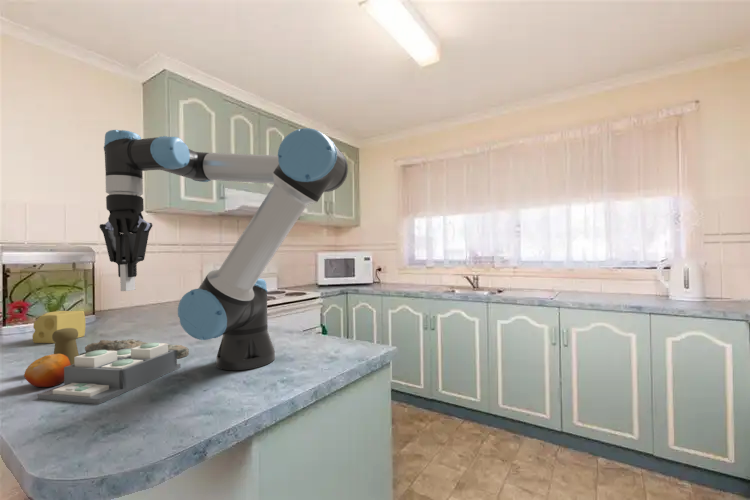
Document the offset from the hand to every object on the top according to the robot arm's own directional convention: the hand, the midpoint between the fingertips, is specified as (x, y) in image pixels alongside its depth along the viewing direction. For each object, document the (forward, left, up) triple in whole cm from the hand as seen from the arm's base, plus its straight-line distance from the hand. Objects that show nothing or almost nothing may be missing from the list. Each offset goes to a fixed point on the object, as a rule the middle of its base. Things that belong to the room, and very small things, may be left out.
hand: (128, 290), depth 86 cm
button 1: (+4, +5, -17) cm, 19 cm away
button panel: (0, +3, -21) cm, 22 cm away
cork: (+22, -2, -22) cm, 31 cm away
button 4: (-3, -3, -17) cm, 18 cm away
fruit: (+15, +7, -22) cm, 28 cm away
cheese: (+61, -29, -22) cm, 71 cm away
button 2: (-3, +5, -19) cm, 20 cm away
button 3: (+4, -2, -19) cm, 20 cm away
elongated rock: (+15, -16, -22) cm, 31 cm away
